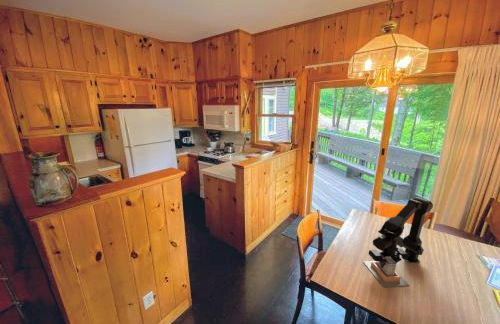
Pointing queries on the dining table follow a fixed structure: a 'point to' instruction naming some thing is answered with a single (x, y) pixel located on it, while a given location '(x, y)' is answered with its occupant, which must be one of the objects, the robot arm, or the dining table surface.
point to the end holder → (382, 278)
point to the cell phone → (398, 240)
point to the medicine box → (388, 266)
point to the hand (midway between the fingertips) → (385, 267)
